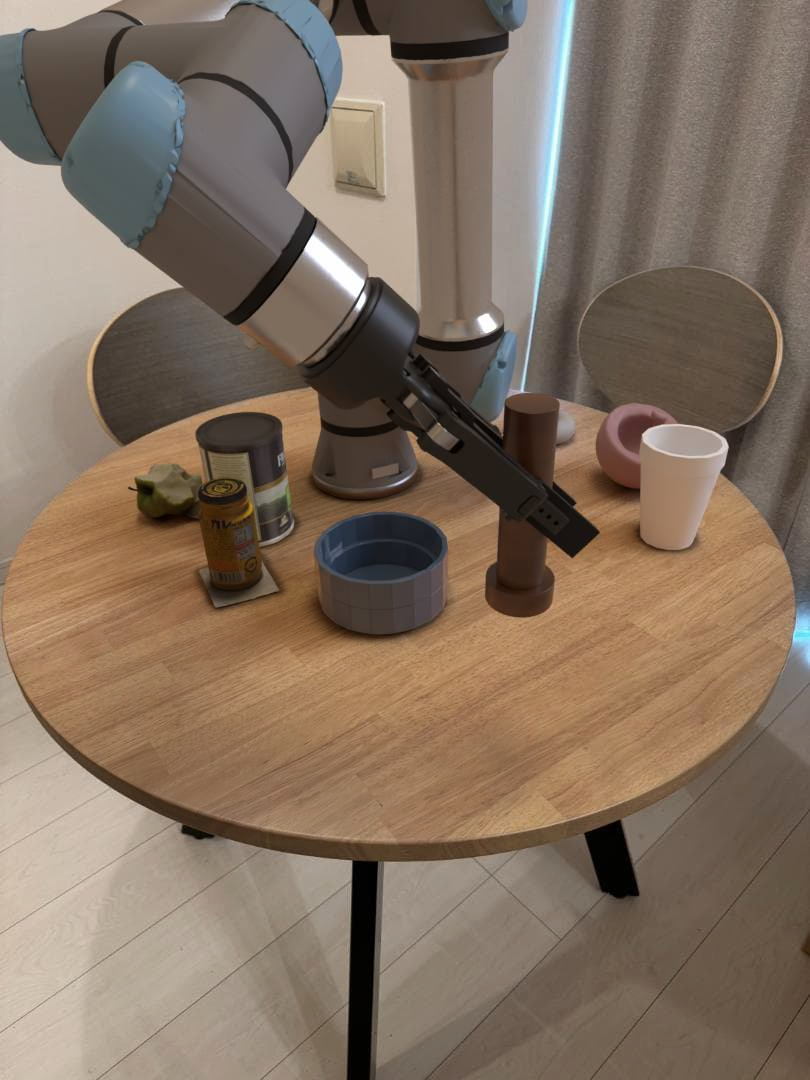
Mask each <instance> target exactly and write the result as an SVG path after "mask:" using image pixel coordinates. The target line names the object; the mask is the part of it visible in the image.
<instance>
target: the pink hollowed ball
mask: <svg viewBox="0 0 810 1080" xmlns="http://www.w3.org/2000/svg"><path fill="white" fill-rule="evenodd" d="M666 424H679V423H678V421H677V420H675V418H674V417H673V416H672V415H670V414H669V413H668V412H666V411H665V410H663V409H661V408H659V407H656V406H655V405H651V404H644V403H639V402H631V403H626V404H620V405H619V406H617V407H616V408H614V409H612V410H611V411H610V412H609V413H608V415H606V417H605V418H604V419H603V421H602V422H601V424H600V426H599V429H598V431H597V433H596V438H595V454H596V458H597V461H598V464H599V465H600V467H601V469H602V471H603V472H604V473H605V475H606V476H607V477H608V478H610V479H611V480H612V481H613V482H614V483H617V484H619V485H620V486H623V487H625V488H630V489H635V490H640V485H641V460H640V454H639V451H640V444H641V438H642V434H643V433H644V432H645V431H646V430H648V429H649V428H652V427H656V426H659V425H666Z"/></svg>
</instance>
